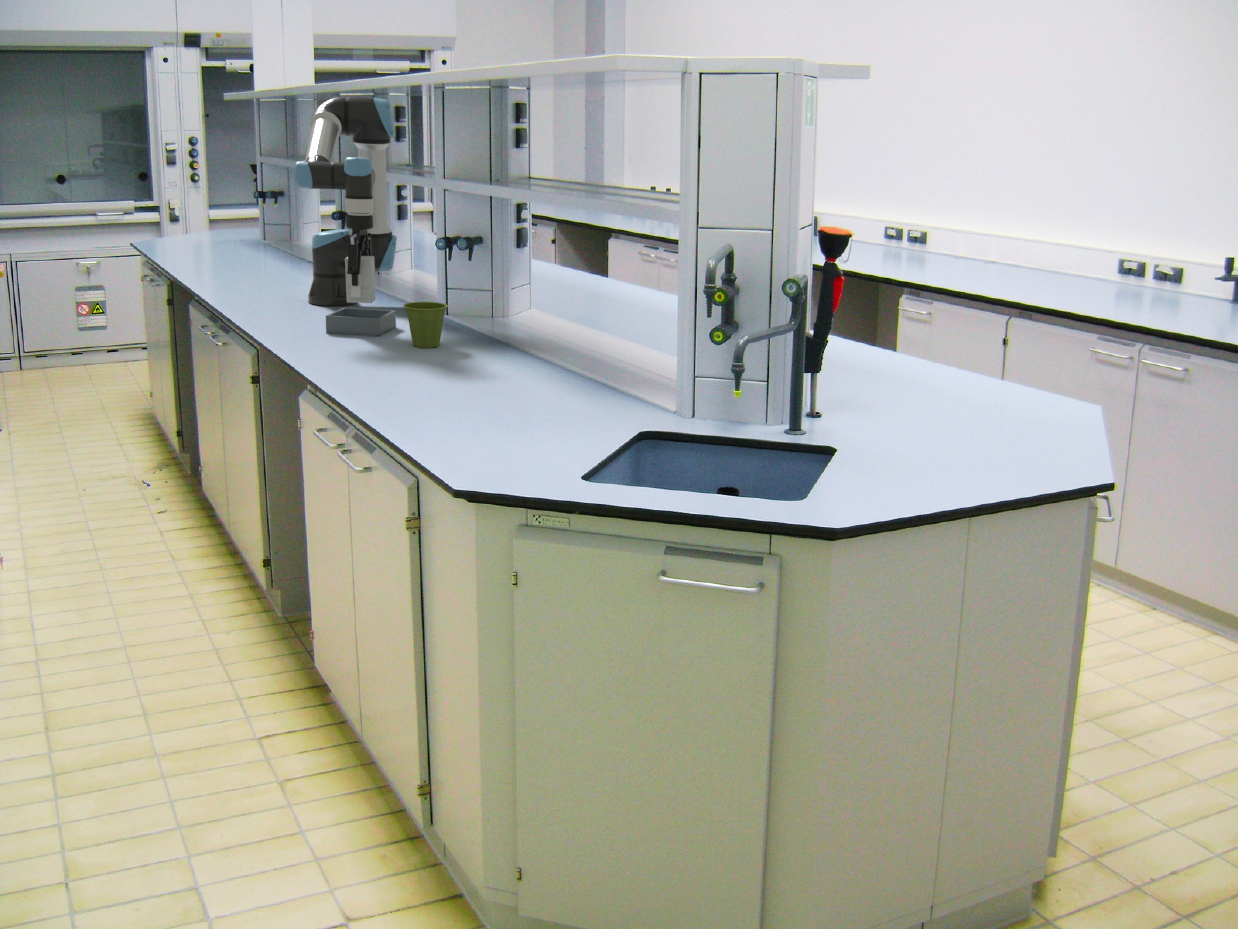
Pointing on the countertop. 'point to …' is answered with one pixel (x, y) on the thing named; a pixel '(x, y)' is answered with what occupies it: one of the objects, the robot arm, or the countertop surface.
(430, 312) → the plant pot
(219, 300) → the countertop surface
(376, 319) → the grey bin
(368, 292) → the supplement box
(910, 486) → the countertop surface
